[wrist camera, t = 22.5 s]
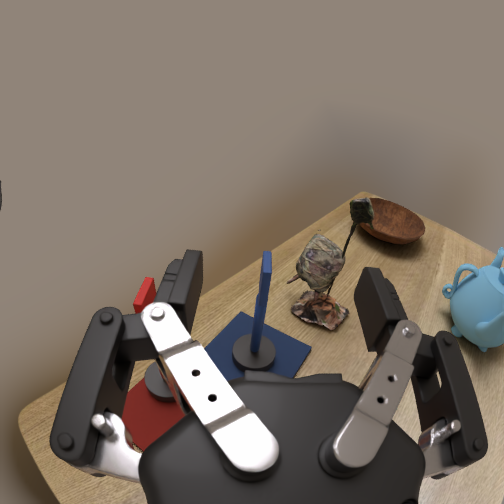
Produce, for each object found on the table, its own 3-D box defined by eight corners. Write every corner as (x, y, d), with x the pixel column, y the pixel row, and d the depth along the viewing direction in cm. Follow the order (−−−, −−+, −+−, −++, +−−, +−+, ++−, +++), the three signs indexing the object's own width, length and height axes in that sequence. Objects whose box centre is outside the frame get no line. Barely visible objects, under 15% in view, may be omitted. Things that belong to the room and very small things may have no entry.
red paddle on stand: (142, 397, 29) (101, 309, 20) (152, 361, 34) (125, 265, 25) (187, 406, 30) (166, 319, 20) (194, 368, 34) (182, 272, 25)
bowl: (334, 230, 67) (339, 211, 64) (367, 206, 81) (371, 191, 78) (406, 267, 57) (415, 249, 54) (425, 234, 71) (431, 219, 68)
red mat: (105, 415, 27) (103, 413, 27) (167, 358, 35) (167, 356, 35) (180, 480, 22) (179, 479, 22) (242, 408, 31) (242, 406, 30)
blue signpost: (230, 372, 34) (235, 277, 25) (233, 338, 39) (240, 242, 29) (274, 375, 34) (299, 283, 25) (274, 342, 39) (294, 247, 30)
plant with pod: (307, 280, 51) (330, 174, 40) (354, 317, 44) (397, 207, 33) (273, 297, 47) (292, 182, 35) (322, 341, 40) (366, 221, 28)
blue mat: (189, 365, 35) (189, 363, 35) (240, 313, 44) (240, 311, 43) (268, 414, 30) (268, 412, 30) (310, 349, 39) (311, 346, 38)
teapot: (475, 296, 50) (503, 245, 42) (512, 361, 34) (553, 309, 26) (426, 296, 49) (455, 237, 41) (464, 375, 33) (514, 316, 25)
